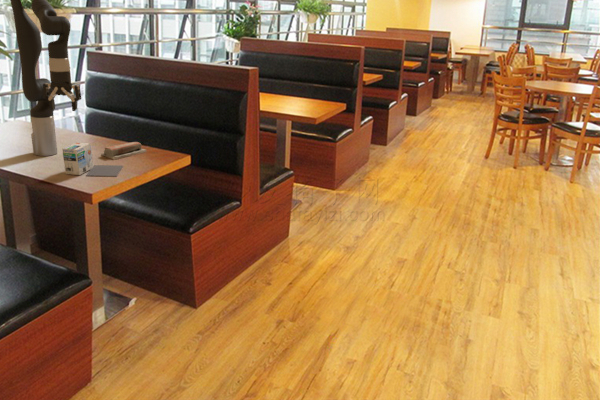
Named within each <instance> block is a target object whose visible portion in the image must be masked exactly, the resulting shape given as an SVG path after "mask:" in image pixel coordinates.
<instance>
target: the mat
mask: <svg viewBox="0 0 600 400" xmlns="http://www.w3.org/2000/svg"><path fill="white" fill-rule="evenodd" d="M123 168H124V165H118V164H117V165H109V164H107V165H105V164H93V168H92V169H90V170H88V171H87V174H86V175H85V176H86V177H118V176H119V173H120V172H121V171H122V170H123Z"/></svg>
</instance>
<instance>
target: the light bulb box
mask: <svg viewBox="0 0 600 400" xmlns="http://www.w3.org/2000/svg"><path fill="white" fill-rule="evenodd" d="M61 152H62V157H63V164H64V165H63V166H64V170H65V174H66V175H74V176H75V175H76V176H81V175H83V174H85V173H88V172H89V171H90V170H91V169H92V168H93V166H94V163H93V153H92V145H91V143H86V142H74V143H72V144H70V145H67V146H65V147H63V148H62V151H61Z"/></svg>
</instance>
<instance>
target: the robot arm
mask: <svg viewBox="0 0 600 400" xmlns="http://www.w3.org/2000/svg"><path fill="white" fill-rule="evenodd" d="M31 1H32V2H31V10H32V11H33V14H34V15H35V16H36V17H37V19H38V21H39V25H40V29H41V31H42V33H43V34H45V35H46V36H58V38H57V39H56V40H55V41H54V40H53V41H50V42H48V43H47V52H48V68H49V79H50V80H49V79H47V78H46V77H44V78H37V75H36V74H37V73H36V71H37V70H36V69H37V68H36V67H37V63H38V61H39V59H40V56H41V54H42V49H43V42H42V36H41V31H40V29H39V27H38V26H37V25H36V24H35V22H34V21H33V19H31V18H30V16H29V15H28V13H27V12H26V10H25V9H24V8H25V7H24V6H23V2H22V0H10V5H11V10H12V14H13V20H14V28H15V34H16V41H17V48H18V52H19V60H20V69H21V81H22V83H21V85H22V91H23V95H24V97H25V98H26V100H27V101H29V102H32V103H34V102H37V103H36V104H35V106H33V107H32V108H31V109H30V122H31V130H32V133H31V134H30V136H31V144H32V145H31V146H32V152H33V155H35V156H41V157H47V156H54V155H56V154H58V143H57V136H56V135H57V134H56V127H55V116H54V110H55V109H56V104H55V102H56V101H55V98H56V96H63V97H64V96H65V97H67V98H68V99H69V100H70V101H71V110H72V112H76V111H77V109H78V103H77V102H78V101H80V100H82V94H81V93H82V92H81V86H80V84H75V85H74V84H72V77H71V66H70V61H69V60H70V59H69V51H68V45H69V38H70V34H71V22H70V21H69V19H68V18H67V17H66V16H59V15H57V12H56V10H55V8H54V7H53V6H52V4H51V3H50V2H49V1H48V0H31ZM72 90H73V91H74V92H73V91H72Z"/></svg>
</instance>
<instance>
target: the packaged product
mask: <svg viewBox="0 0 600 400" xmlns="http://www.w3.org/2000/svg"><path fill="white" fill-rule="evenodd" d="M144 153H147V149H146V148H142V144H141V143H140V142H138V141H132V142H126V143H121V144H115V145H110V146H106V147H104V149H103V153H100V155H101V156H102V157H105V158H109V159H111V160H119V158H120V159H124V158H128V157H132V155H133V156H137V155H140V154H144ZM136 154H137V155H136Z"/></svg>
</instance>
